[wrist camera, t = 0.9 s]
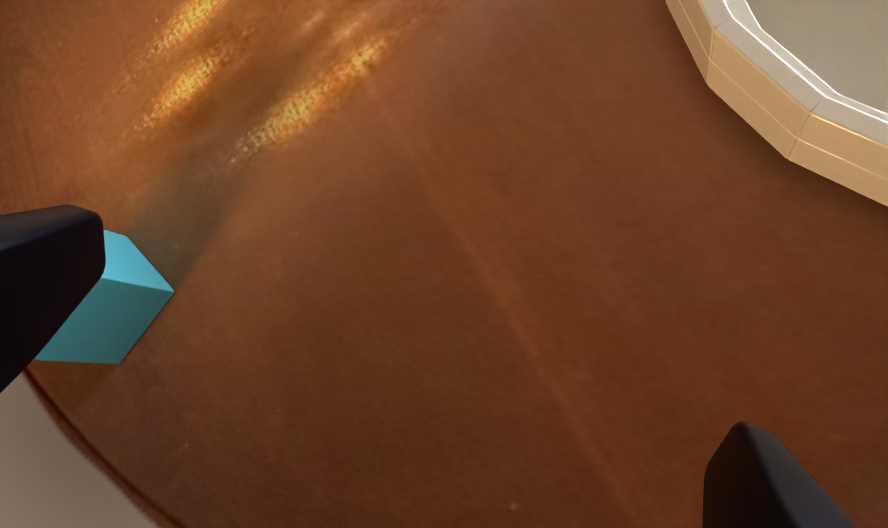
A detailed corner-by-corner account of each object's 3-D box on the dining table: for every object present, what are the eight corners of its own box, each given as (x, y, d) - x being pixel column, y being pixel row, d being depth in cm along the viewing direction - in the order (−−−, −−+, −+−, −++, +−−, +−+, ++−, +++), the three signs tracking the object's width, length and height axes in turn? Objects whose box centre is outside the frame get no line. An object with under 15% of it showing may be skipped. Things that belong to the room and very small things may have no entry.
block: (176, 291, 26) (95, 275, 23) (119, 365, 27) (30, 360, 23) (127, 235, 28) (43, 211, 24) (73, 305, 28) (-17, 292, 25)
